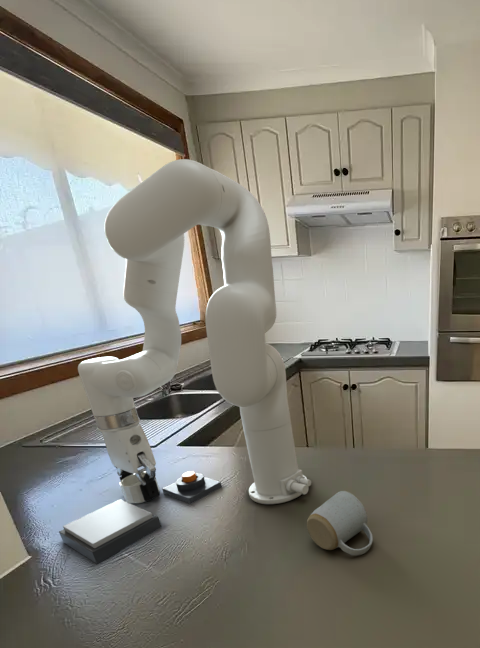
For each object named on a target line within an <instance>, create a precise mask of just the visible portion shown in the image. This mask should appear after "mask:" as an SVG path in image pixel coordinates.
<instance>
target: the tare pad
mask: <svg viewBox="0 0 480 648" xmlns="http://www.w3.org/2000/svg"><path fill="white" fill-rule="evenodd" d="M195 474H196V477H197V479H196V480H194V481H191V482H186V483H184V482H183V479H182V475H181V476H180V477H178V478H177V479H176V480H175V481H174V482H172V483H170V484H168V485H166V486H164V487H162V492H163V494H164V495H166V496H169V497H171V498H175V499H177V500H179V501H182V502H183V503H184V502H185V503H187V504H189V505H192V504H193V503H195V502H198V501H199V500H200V499H202V498H204V497H206V496H208V495H209V494H212V493H213V492H215V491H217V490H219V489H221V488H222V483H221V481H220V480H217V479H214V478H211V477H207V476H204V474H203V473H202V472H195Z"/></svg>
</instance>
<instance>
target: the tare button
mask: <svg viewBox="0 0 480 648" xmlns="http://www.w3.org/2000/svg"><path fill="white" fill-rule="evenodd" d="M195 473H196V471H194V470H189V471H185V472H183V473H182V474H181V476H182V479H183V482H184V483H186V482H191V481H194V480H196V479H197V477H196V474H195Z"/></svg>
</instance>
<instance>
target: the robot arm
mask: <svg viewBox="0 0 480 648" xmlns="http://www.w3.org/2000/svg"><path fill="white" fill-rule="evenodd" d="M198 225H199V226H205V227H212V228H214V229H217V230H219V232H220V234H221V239H222V240H221V250H220V251H221V252H220V253H221V256H220V257H221V264H222V272H223V286H221V287H219V288H218V289H216V290H215V291H214V292H213V293H212V294H211V296H210V298H209V299H208V302H207V305H206V309H205V320H204V321H205V331H206V339H207V346H208V352H209V360H210V368H211V374H212V381H213V383H214V384H213V385H214V386H215V389H216V391H217V392H218V394H219V395H220V397H221V398H222V399H223V400H224V401H225V402H227V403H228V404H230V405H232V406H235V407H239V414H240V420H241V425H242V429H243V434H244V439H245V444H246V449H247V454H248V458H249V463H250V468H251V472H252V477H253V481H254V482H252V484H251V485H250V486H249V488H248V495H249V498H250V499H251V500H252V501H253V502H256V503H258V504H260V505H261V504H262V505H279V504H283V503H288V502H290V501H292V500H294V499H296V498H298V497H300V496H301V495H307V494H308V492H309V487H311V486H312V480H311V479H309V478H307V476H306V475H304V474H303V469H300V468H299V463H298V458H297V451H296V445H295V440H294V438H295V437H294V431H293V426H292V420H291V418H292V417H291V414H290V413H291V412H290V406H289V398H288V388H287V385H288V384H287V372H286V366H285V362H284V359H283V357H282V355H281V354H280V352H279V351H278V350H277V348H276V347H274V346H273V345H271V344H269V343H267V342H266V333H267V332H269V331H270V330H271V329H272V328H273V326H274V324H275V322H276V319H277V304H276V303H277V302H276V294H275V293H276V292H275V280H274V277H275V276H274V268H273V258H272V242H271V232H270V227H269V222H268V218H267V216H266V213H265V210H264V209H263V207H262V205H261V203H260V202H259V200H258V199H257V198H256V196H255V195H254V194H253V193H252V192H251V191H249V189H247V188H246V187H244V185H242V184H241V183H239V182H237V181H236V180H234V179H233V178H231V177H229V176H228V175H225V174H223V173H222V172H220V171H217V170H216V169H213V168H211V167H208V166H207V165H205V164H203V163H201V162H198V161H196V160H194V159H189V158H182V159H175V160H172V161H170V162H168V163H166V164H165V165H163V166H161V167H160V168H159V169H157V170H156V171H154V172H153V173H152V174H151V175H149V176H148V177H147V178H145V179H144V180H142V182H140V183H139V184H137V185H136V186H135V187H134V188H132V189H131V190H129V192H127V193H126V194H124V195H123V196H121V198H119V200H117V201H116V202H115V203H114V204H113V206H111V208H110V209H109V210H108V212H107V213H106V216H105V220H104V225H103V228H104V235H105V239H106V241H107V243H108V245H109V247H110V248H111V250H112V251H113V252H115V254H117V255H118V256H119V257H121V258H123V259H125V270H124V271H125V272H124V280H123V281H124V282H123V289H122V297H123V301H125V303H126V304H127V305H128V306H130V307H131V308H132V309H135V310H136V311H137V312H138V313H139V315H140V317H141V319H142V322H143V326H144V337H143V338H144V339H143V345H142V351H140V352H138V353H135V354H132V355H130V356H127V357H125V358H122V359H119V358H118V357H115V356H101V357H100V356H99V357H94V358H89V359H85V360H83V361H81V362H80V363H79V364H78V366H77V372H78V374H79V375H78V376H79V378H80V382H81V385H82V387H83V390H84V392H85V395H86V398H87V401H88V404H89V406H90V410H91V412H92V415H93V418H94V421H95V423H96V427H97V429H98V431H99V432H101V433H102V438H103V441H104V445H105V448H106V450H107V454H108V457H109V460H110V462H111V464H112V466H113V467H114V468H115V469H116V474H117V476H119V480H120V481H121V480H122V479H124V478H125V477H127V476H129V475H132V474H136V476H137V478H138V479H139V481H140V483H141V485H139V486H140V489H141V492H142V495H143V498H144V500H145V501H146V502H149V501H152V500H153V499H156V498H157V497H159V496H160V494H161V493H160V491H159V490H160V489H159V490H158V487H159V486H158V487H157V484H156V480H157V477H156V475H157V473H156V472H157V467H156V464H157V461H156V459H155V456H154V453H153V450H152V447H151V443H150V442H149V440H148V438H147V435H146V432H145V431H144V428H143V427H142V425H141V423H140V422H141V421H140V417H139V413H138V411H137V407H136V404H135V401H134V398H142V397H144V396H146V395H148V394H150V393H153V392H154V391H156V390H157V389H159V388H161V387H162V386H165V384H167V383H169V382H170V381H172V379H173V378H174V377H175V375H176V373H177V370H178V367H179V363H180V357H181V356H180V355H181V350H182V331H181V330H182V329H181V326H180V325H181V324H180V319H179V316H178V313H177V309H176V307H177V306H176V305H177V299H178V298H177V297H178V290H179V283H180V276H181V269H182V263H183V256H184V251H185V250H184V249H185V234H186V233H187V232H188V231H190V230H191V229H194V227H196V226H198ZM141 467H143V468H141ZM139 468H141V469H139ZM145 471H146V474H145V475H144V478H143V477H142V475H141V473H142V472H145ZM120 481H119V482H120Z"/></svg>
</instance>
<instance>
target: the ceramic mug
mask: <svg viewBox="0 0 480 648" xmlns="http://www.w3.org/2000/svg"><path fill="white" fill-rule="evenodd" d="M367 524H368V514H367V511H366V509H365V506H364V505H363V503H362V502H361V501H360V500H359V499H358V498H357V497H356V496H355V495H354V494H353V493H351V492H350V491H346V490H340V491H337V492H336V493H335V494H334V495H332V496H331V497H330V498H329V499H327V500H326V501H325V502H323V503H322V504H321V505H319V506H318V507H317V508H316V509H314V510H313V512H311V513H310V514H309V516H308V518H307V519H306V528H307V529H306V530H307V532H308V534H309V536H310V538H311V539H312V540H313V542H314V543H315V544H316V545H317V546H318V547H320V548H321V549H324V550H327V551H333V550H335V549H338V548H339V549H341V551H343V552H344V553H346V554H349V556H350V555H351V556H361V555H364V554H366V553H367V552H368V551H369V550H370V549H371V547H372V545H373V542H374V538H373V534H372V532H371V529H370V528H369V527H368V525H367ZM361 531H363V532H364V534H365V535H366V536H367V538H368V544H367V545H365V546H364V547H361V548H353V547H351V546H348V544H346V542H347V541H349V540H350V539H352V538H353V537H354V536H356V535H357V534H358V533H361Z"/></svg>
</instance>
